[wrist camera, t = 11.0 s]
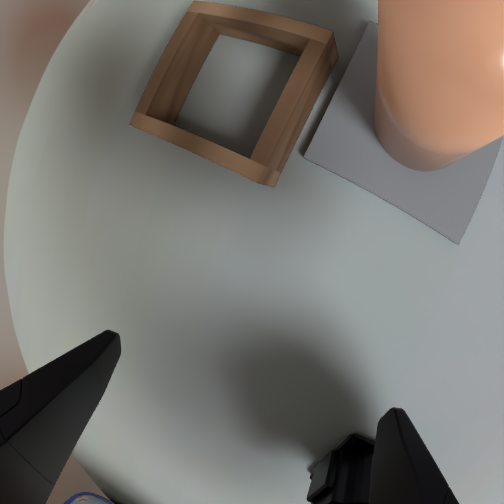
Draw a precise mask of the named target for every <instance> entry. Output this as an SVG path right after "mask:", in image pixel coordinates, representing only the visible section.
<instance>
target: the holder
mask: <svg viewBox="0 0 504 504" xmlns="http://www.w3.org/2000/svg"><path fill="white" fill-rule="evenodd" d="M219 34H221V35H226V36H230V37H234V38H239V39H243V40H247V41H251V42H254V43H258V44H262V45H265V46H269V47H272V48H276V49H279V50H282V51H285V52H289V53H292V54H295V55H298V56H301V57H300V59H299V61H298V63H297V65H296V67H295V68H294V70H293V72H292V74H291V76H290V78H289V80H288V82H287V84H286V86H285V88H284V90H283V92H282V94H281V96H280V98H279V100H278V102H277V104H276V106H275V108H274V110H273V112H272V114H271V116H270V118H269V120H268V122H267V124H266V126H265V128H264V130H263V132H262V134H261V136H260V138H259V140H258V142H257V144H256V147H255V149H254V151H253V153H252V155H251V157H250V158H248V157H246V156H244V155H242V154H239V153H237V152H235V151H233V150H231V149H228V148H226V147H224V146H222V145H219V144H217V143H215V142H212V141H210V140H208V139H205V138H203V137H201V136H198V135H196V134H194V133H191V132H189V131H186V130H184V129H181V128H179V127H176V126H174V125H173V124H174V122H175V120H176V118H177V116H178V113H179V111H180V109H181V107H182V105H183V103H184V101H185V99H186V97H187V95H188V93H189V91H190V89H191V87H192V85H193V83H194V81H195V79H196V77H197V75H198V73H199V71H200V69H201V67H202V65H203V63H204V61H205V59H206V58H207V56H208V54H209V52H210V50H211V48H212V47H213V45H214V43H215V41H216V40H217V38H218V36H219ZM337 58H338V53H337V48H336V43H335V38H334V33H333V31H331V30H328V29H325V28H322V27H319V26H315V25H312V24H309V23H305V22H302V21H298V20H295V19H291V18H287V17H283V16H279V15H275V14H271V13H266V12H262V11H257V10H252V9H247V8H242V7H236V6H230V5H224V4H217V3H210V2H202V1H193V3H192V4H191V6H190V8H189V9H188V11H187V13H186V14H185V16H184V17H183V19H182V21H181V22H180V24H179V26H178V28H177V29H176V31H175V33H174V35H173V36H172V38H171V40H170V42H169V43H168V45H167V47H166V49H165V51H164V53H163V55H162V56H161V58H160V60H159V62H158V64H157V66H156V68H155V70H154V72H153V74H152V76H151V78H150V80H149V82H148V84H147V86H146V88H145V91H144V93H143V95H142V97H141V99H140V101H139V104H138V106H137V108H136V110H135V113H134V115H133V117H132V120H131V122H130V124H129V125H131V126H133V127H136V128H138V129H140V130H143V131H145V132H148V133H150V134H152V135H155V136H157V137H159V138H161V139H164V140H166V141H168V142H171V143H173V144H175V145H177V146H180V147H182V148H184V149H186V150H188V151H191V152H193V153H195V154H197V155H199V156H202V157H204V158H206V159H208V160H210V161H212V162H214V163H217V164H219V165H221V166H223V167H225V168H227V169H229V170H231V171H233V172H235V173H238V174H240V175H242V176H244V177H246V178H248V179H250V180H252V181H254V182H256V183H259V184H263V185H268V186H272V187H274V186H275V184H276V182H277V180H278V178H279V176H280V174H281V172H282V169H283V167H284V165H285V163H286V161H287V159H288V157H289V155H290V153H291V151H292V149H293V147H294V145H295V143H296V141H297V139H298V137H299V135H300V133H301V131H302V129H303V127H304V125H305V122H306V120H307V118H308V116H309V114H310V112H311V110H312V108H313V106H314V104H315V102H316V100H317V98H318V96H319V94H320V92H321V90H322V88H323V86H324V84H325V82H326V80H327V78H328V76H329V74H330V72H331V70H332V68H333V66H334V64H335V62H336V60H337Z"/></svg>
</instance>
